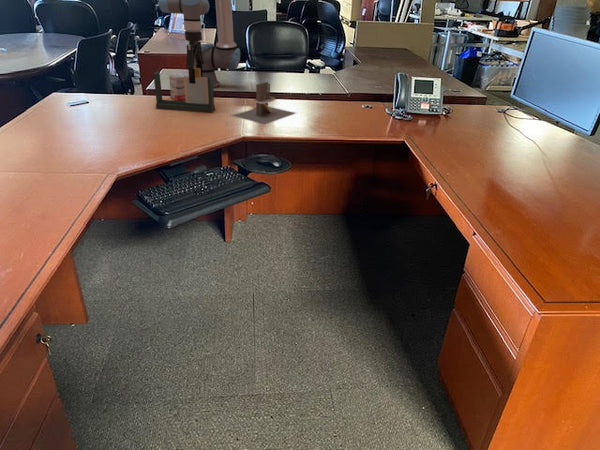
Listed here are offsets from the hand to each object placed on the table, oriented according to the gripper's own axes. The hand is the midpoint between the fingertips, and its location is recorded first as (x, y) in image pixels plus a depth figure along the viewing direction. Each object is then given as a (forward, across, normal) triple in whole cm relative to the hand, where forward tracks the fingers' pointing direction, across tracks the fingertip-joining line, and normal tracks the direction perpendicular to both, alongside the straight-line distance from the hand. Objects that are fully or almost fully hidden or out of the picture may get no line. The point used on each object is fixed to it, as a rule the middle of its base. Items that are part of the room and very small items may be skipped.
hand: (196, 80), depth 212 cm
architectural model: (+14, -2, +33) cm, 36 cm away
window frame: (+14, 0, -6) cm, 15 cm away
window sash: (+11, 0, 0) cm, 11 cm away
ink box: (+14, -18, -16) cm, 28 cm away
